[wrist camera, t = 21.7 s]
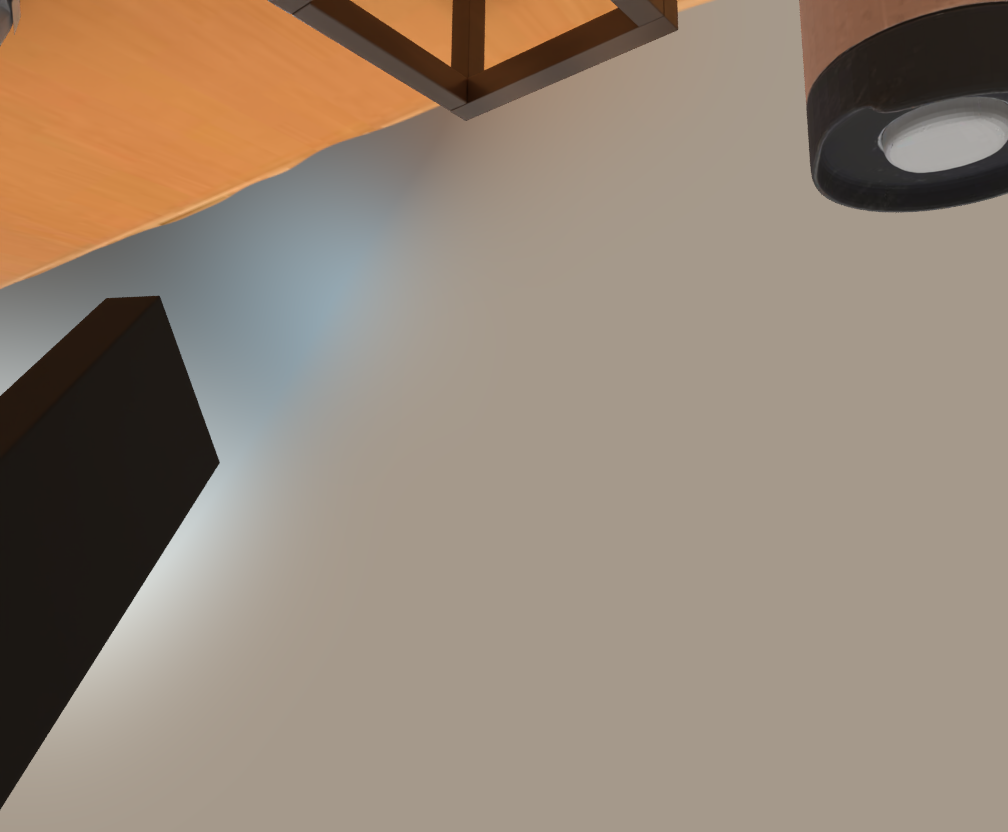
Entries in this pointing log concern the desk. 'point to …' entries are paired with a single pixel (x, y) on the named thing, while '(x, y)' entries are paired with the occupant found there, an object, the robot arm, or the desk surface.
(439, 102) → the rack
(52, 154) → the desk surface
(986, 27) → the travel mug
